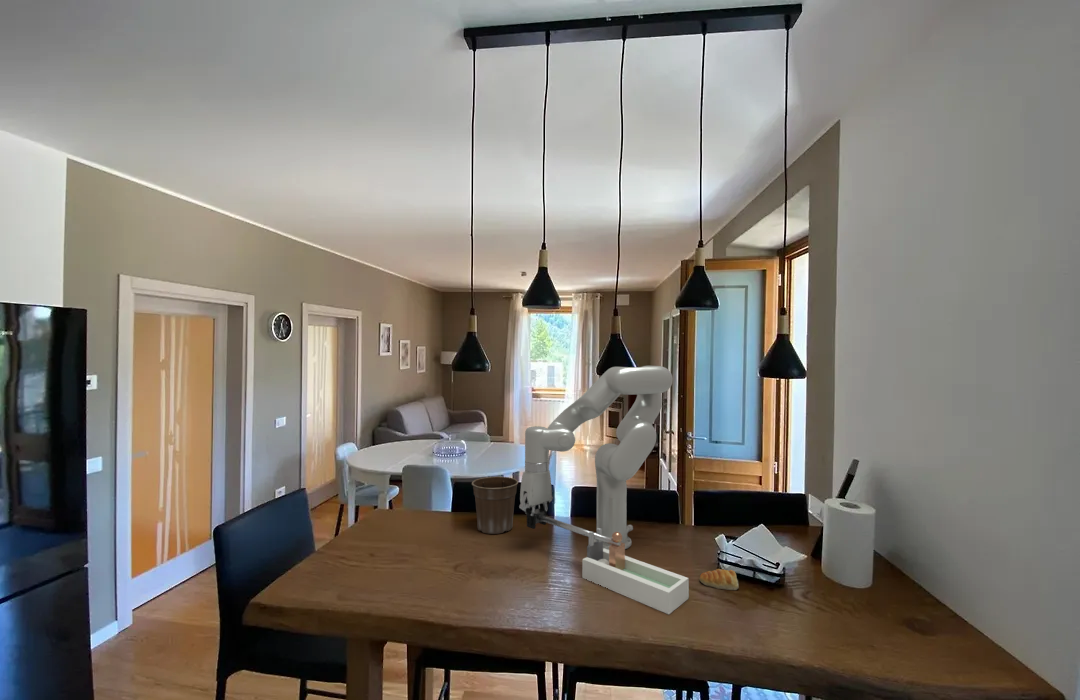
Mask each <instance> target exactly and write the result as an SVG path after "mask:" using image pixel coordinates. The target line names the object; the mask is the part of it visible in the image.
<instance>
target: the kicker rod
mask: <svg viewBox="0 0 1080 700" xmlns="http://www.w3.org/2000/svg"><path fill="white" fill-rule="evenodd" d="M544 512H545V511H543V510H540V509H539V508H535V512H534V515H535V517H536V520H535V524H536V525H537V524H540V522H542V521H543V522H546V524H549V525H553V526H555V527H558V528H562V529H564V530H567V531H570V532H573V533H575V534H579V535H582V536H584V537H588V538H589V532H590V531H591V530H589V529H585V528H582V527H579V526H576V525H572V524H570V523H567V522H564V521H561V520H558V519H555V518H552V517H549V516H547V515H546V516H544ZM594 539H596V540H599V541H602V542H605V543H608V544H611V545H610V546H609V565H610V566H612V567H615V568H617V569H620V570H623V569H625V556H626V549H625V543H622V542H621V541H622V534H621V533H620V532H614V533H613V534H612V538H610V537H607V536H603V535H600V534H597V532H594Z"/></svg>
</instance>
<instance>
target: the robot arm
mask: <svg viewBox="0 0 1080 700" xmlns="http://www.w3.org/2000/svg"><path fill="white" fill-rule="evenodd" d="M673 382H674V379H673V374H672V373H671V371H670V370H669V369H668V368H667V367H665V366H662V365H661V366H660V365H642V366H638V367H637V366H636V367H634V366H630V367H628V366H612V367H610V368H608V369H607V370H606V371H604V373H602V375H600V377H599V378H598V379H597V380H596V381H595V382H594V383H593V384H592V385H591V386H590V387H589V388H588V389H587V390H586V391H585V393H584V394H582V395H581V397H579V398H578V399H576V400H575V401H574V402H572V403H571V404H570V405H569V406H567V408H565V409H564V410H563V411H561V413H560V414H558V416H556V417H555V419H554V420H553V421H552V422H551V423H550V424H549V425H548V426H547V427H545V426H539V425H538V426H528V427H527V428H526V429H525V432H524V437H525V438H524V471H523V472H522V476H521V482H520V491H519V492H520V493H519V502H520V504H519V506H518V507H519V509H520V510H522V511H523V512H524V514H526V527H527V528H529V529H532V530H534V529H536V526H537V524H535V520H536V517H535V515H534V512H535V510H536V506H538V509H540V510H543V511H545V512H544V516H546V517H547V512H548V510H549V509H548V507H549V506H550V503H551V502H552V500H553V499H554V497H553V495H552V478H551V477H552V476H551V471H550V451H554V452H562V453H563V452H568V451H569V450H570V451H571V450H572V448H573V447H574V445H575V443H576V436H575V434H574V431H576V430H577V428H579V427H580V426H581V425H582V424H584V423H586V422H588V421H591V420H594V419H595V418H599V416H602V415H603V414H604V413H605V412H606V410H607V409H608V408H609V407H610V406H611V405H612V404H613V403H614V402H615V401H616V400H617V399H618V398H619V396H621V395H625V396H626V395H630V396H631V395H636V398H635V401H634V403H633V404H632V406H631V408H629V410H628V412H627V413H626V414H625V416H624V418H622V420H621V421H620V423H619V424H618V426H617V428H616V430H615V431H616V437H617V439H618V442H619V441H620V442H619V444H616V443H604V444H603V445H601V446H600V447H599V448H598V449H597V450H596V453H595V456H594V467H595V475H596V529H597V528H601V529H602V535H603V536H607V537H610V538H612V534H613V533H614V532H620V533H621V534H622V541H621V542H622V543H625V550H626V549H629V548H630V547H631V546H632V539H631V538H630V537H629V536H628V534H629V532H631V531H633V530H634V526H633V525H632V524H627V494H628V493H627V492H628V491H627V490H628V488H627V481H628V480H630V479H632V478H633V477H634V475H636V474H637V472H638V471H639V470H640V468H641V466H643V463H644V462H645V461H646V459H647V458H648V456H649V455H650V454H651V452H652V451H653V449H654V447H655V445H656V443H657V442H656V441H657V432H656V429H655V427H654V425H653V424H654V423H655V421H656V419H657V417H658V416H659V414H660V412H661V410H662V403H663V398H662V396H663V395H662V393H665V392H667V391H668V390H669V389H670V388H671V387H672V384H673ZM539 524H541V525H544V526H545V525H546V524H547V523H546V522H543V521H542V522H540V523H539ZM596 541H597V540H596V539H594V542H596ZM610 545H611V544H608V543H605V542H603V549H604V548H605V549H608V550H609V546H610Z"/></svg>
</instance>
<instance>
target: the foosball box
mask: <svg viewBox="0 0 1080 700" xmlns="http://www.w3.org/2000/svg"><path fill="white" fill-rule="evenodd" d="M589 531H590V532H589V537H588V545H586V557H584V558H582V563H581V564H582V568H581V569H582V574H581V575H582V576H581V577H582V579H585V580H586V579H587V581H589V582H591V581H592V582H591V583H593V582H594V584H596V585H598V584H599V585H598V586H600V585H601V587H603V588H605V587H606V589H607V588H608V590H610V591H613V592H614V593H617V594H620V595H622V596H625V597H627V598H629V599H632V600H633V601H636V602H638V603H640V604H642V605H646V606H648V607H650V608H652V609H654V610H657V611H659V612H662V613H664V614H666V615H671V614H672V613H673V612H674V611H675V610H676V609H678V608H679V607H680V606H681V605H683V604H684V603H685V602H686V601H687V600H689V597H690V594H689V592H690V590H689V587H690V586H689V583H690V582H689V580H690V579H689V577H686V576H684V575H681V574H679V573H675V572H673V571H669V570H668V569H667V570H666V569H664V568H662V567H659V566H656V565H653V564H650V563H647V562H644V561H641V560H638V559H635V558H633V557H631V556H628V555H625V569H623V570H620V569H617V568H615V567H612V566H610V565H607V564H604V563H602V562H599V561H598V560H600V559H606V560H608V561H609V550H608V549H605V548H604V549H603V542H602V541H599V540H597V541H596V542H594V533H595V532H594V531H591V530H589ZM596 533H597V534H600V535H602V529H601V528H597V527H596Z"/></svg>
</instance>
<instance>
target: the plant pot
mask: <svg viewBox="0 0 1080 700" xmlns="http://www.w3.org/2000/svg"><path fill="white" fill-rule="evenodd" d="M518 484H519V480H517V479H516V478H513V477H508V476H485V477H479V478H477V479H475V480H472V482H471V486H472V489H473V495H474V498H475V499H474V500H475V510H476V511H475V512H476V521H477V522H476V524H477V525H476V526H477V527H476V528H477V531H479V532H482V533H483V534H488V535H496V534H503V533H504V532H507V531H508V532H509V531H511V530H512V529H513V524H514V523H513V522H514V510H515V499H516V494H517V487H518Z"/></svg>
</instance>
